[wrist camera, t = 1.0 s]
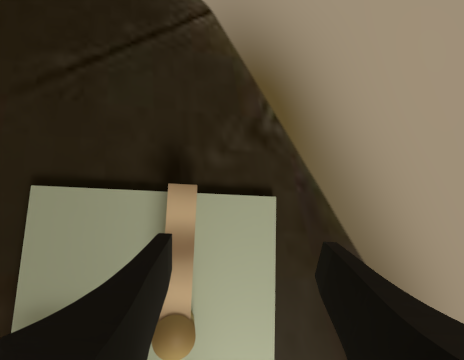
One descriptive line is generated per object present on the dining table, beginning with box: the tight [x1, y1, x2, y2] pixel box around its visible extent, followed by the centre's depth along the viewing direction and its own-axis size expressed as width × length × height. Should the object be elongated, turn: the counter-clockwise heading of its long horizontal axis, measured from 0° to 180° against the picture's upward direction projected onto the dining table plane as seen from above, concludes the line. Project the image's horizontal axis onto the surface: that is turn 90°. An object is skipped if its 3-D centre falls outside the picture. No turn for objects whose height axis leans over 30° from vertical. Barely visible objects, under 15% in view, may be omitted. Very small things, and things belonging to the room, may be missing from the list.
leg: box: [152, 184, 197, 360], centre depth 24 cm, size 15×4×3 cm, turn 178°
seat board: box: [11, 185, 276, 360], centre depth 26 cm, size 19×24×1 cm
